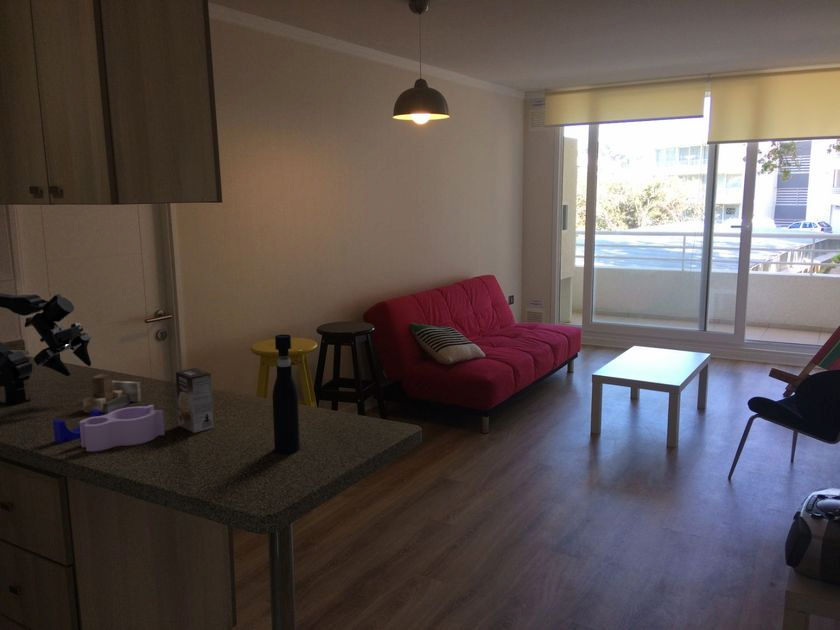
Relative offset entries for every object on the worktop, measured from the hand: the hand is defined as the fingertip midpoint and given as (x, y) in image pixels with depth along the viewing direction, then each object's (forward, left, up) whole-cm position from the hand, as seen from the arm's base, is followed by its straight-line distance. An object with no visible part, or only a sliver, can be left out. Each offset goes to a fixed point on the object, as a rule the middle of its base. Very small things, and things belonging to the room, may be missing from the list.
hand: (79, 370), depth 213 cm
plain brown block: (+9, +1, -11) cm, 14 cm away
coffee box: (+48, +2, -11) cm, 49 cm away
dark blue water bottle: (+82, +1, -11) cm, 82 cm away
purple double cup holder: (+38, -15, -11) cm, 42 cm away
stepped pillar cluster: (+8, +3, -11) cm, 14 cm away
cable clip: (+25, -19, -11) cm, 33 cm away
